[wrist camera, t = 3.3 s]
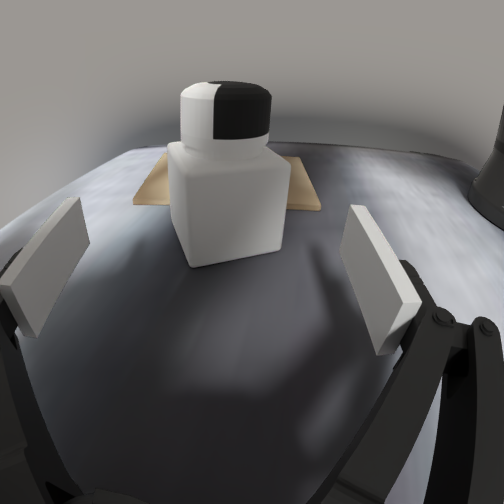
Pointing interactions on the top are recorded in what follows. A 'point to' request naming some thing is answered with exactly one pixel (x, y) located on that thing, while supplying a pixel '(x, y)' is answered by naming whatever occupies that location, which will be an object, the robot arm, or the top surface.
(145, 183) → the cork mat
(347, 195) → the top surface
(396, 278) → the robot arm
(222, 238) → the medicine bottle
